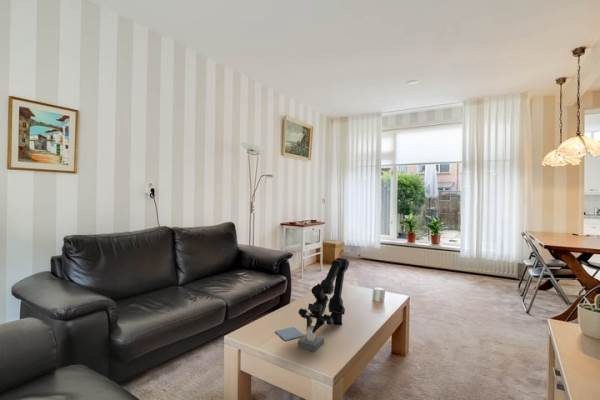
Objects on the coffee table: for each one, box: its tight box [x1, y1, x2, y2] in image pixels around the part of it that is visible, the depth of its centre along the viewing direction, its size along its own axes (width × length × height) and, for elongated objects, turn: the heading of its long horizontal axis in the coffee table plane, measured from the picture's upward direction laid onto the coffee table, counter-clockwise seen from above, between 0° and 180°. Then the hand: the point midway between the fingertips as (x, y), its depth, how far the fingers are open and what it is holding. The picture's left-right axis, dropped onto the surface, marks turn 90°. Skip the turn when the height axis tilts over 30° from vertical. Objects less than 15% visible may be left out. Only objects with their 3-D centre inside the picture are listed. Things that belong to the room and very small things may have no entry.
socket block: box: [297, 333, 325, 353], centre depth 154 cm, size 10×10×3 cm
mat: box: [274, 326, 305, 342], centre depth 166 cm, size 12×12×1 cm
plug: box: [306, 324, 316, 342], centre depth 154 cm, size 3×3×9 cm
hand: (309, 332), depth 153 cm, fingers closed on plug, 3 cm apart
